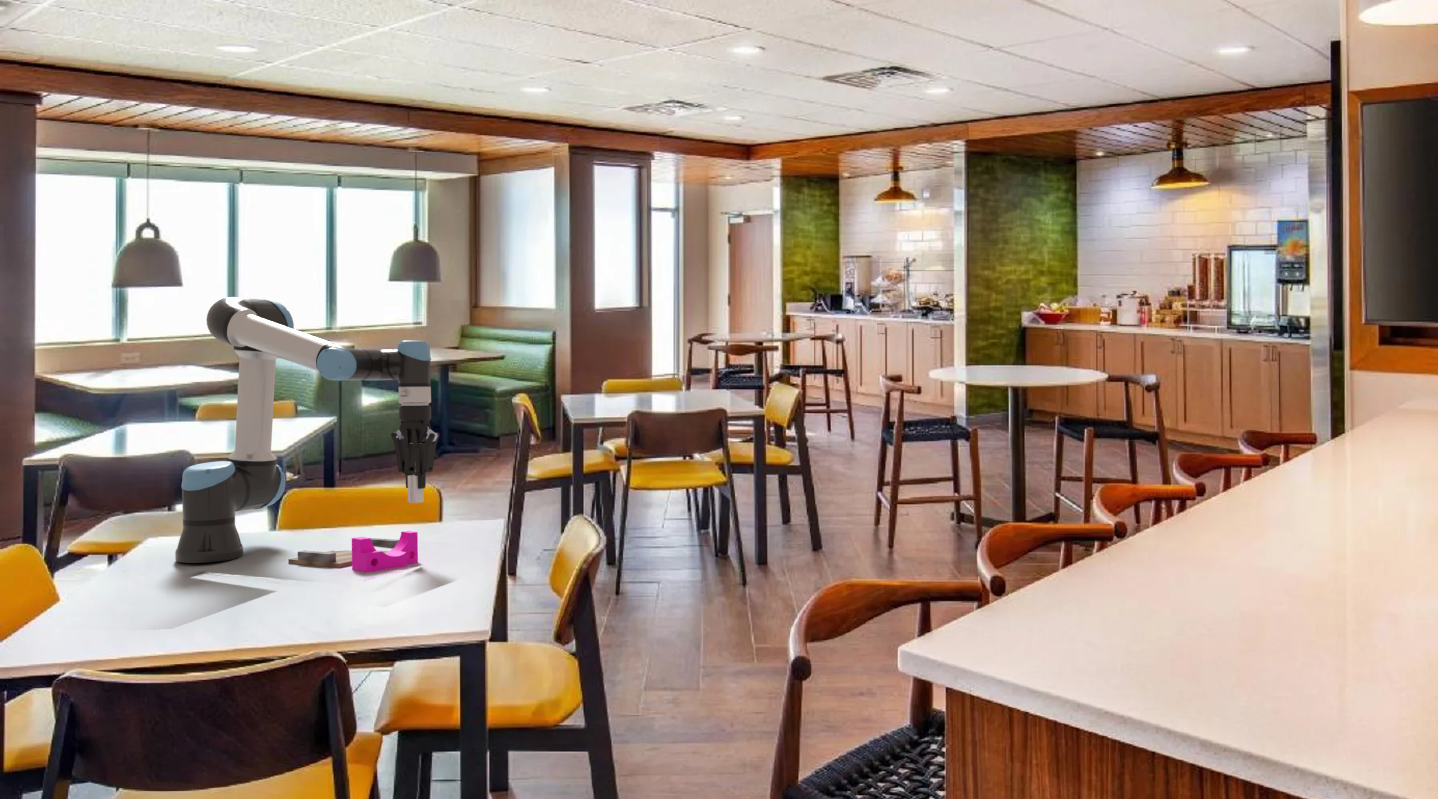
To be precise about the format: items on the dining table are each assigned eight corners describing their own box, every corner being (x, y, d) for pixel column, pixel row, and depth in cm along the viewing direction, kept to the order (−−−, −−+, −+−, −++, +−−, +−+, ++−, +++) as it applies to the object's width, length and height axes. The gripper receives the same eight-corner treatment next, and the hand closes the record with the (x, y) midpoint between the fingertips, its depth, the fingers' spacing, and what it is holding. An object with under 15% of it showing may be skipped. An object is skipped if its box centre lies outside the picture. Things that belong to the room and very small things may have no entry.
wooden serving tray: (288, 563, 254) (288, 550, 254) (360, 548, 276) (360, 537, 276) (339, 567, 248) (339, 554, 248) (409, 552, 269) (409, 540, 269)
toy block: (366, 573, 241) (366, 540, 241) (352, 570, 245) (351, 538, 245) (423, 564, 253) (423, 533, 252) (409, 561, 257) (408, 530, 257)
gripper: (381, 404, 256) (382, 502, 256) (427, 405, 250) (428, 505, 251) (402, 404, 263) (403, 499, 263) (448, 404, 257) (449, 501, 257)
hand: (415, 501), depth 257 cm, fingers closed
